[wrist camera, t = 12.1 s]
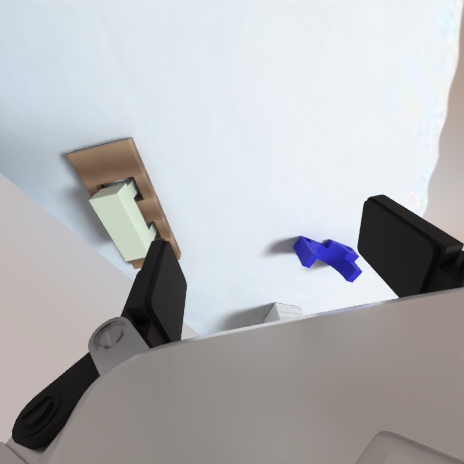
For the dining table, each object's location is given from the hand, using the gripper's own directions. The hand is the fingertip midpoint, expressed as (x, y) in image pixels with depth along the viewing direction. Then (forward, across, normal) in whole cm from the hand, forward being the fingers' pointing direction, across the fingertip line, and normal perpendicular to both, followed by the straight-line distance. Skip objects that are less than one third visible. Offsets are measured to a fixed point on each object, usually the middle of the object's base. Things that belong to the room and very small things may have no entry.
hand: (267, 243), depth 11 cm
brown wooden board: (+28, +18, +8) cm, 34 cm away
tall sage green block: (+28, +18, +8) cm, 34 cm away
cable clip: (+28, -15, +25) cm, 40 cm away
